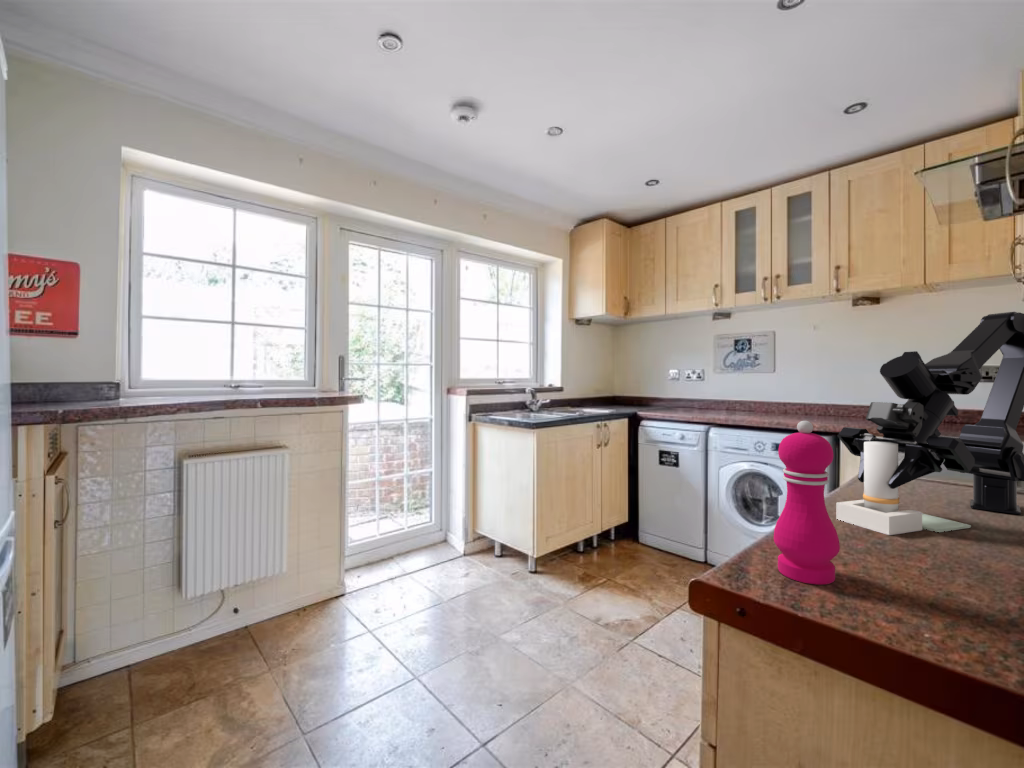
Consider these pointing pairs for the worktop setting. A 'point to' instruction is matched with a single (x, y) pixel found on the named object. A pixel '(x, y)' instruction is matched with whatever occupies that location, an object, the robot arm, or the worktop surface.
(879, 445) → the white banded cylinder
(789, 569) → the pepper mill
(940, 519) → the sage mat
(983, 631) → the worktop surface
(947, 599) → the worktop surface
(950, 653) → the worktop surface
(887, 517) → the clip bracket
